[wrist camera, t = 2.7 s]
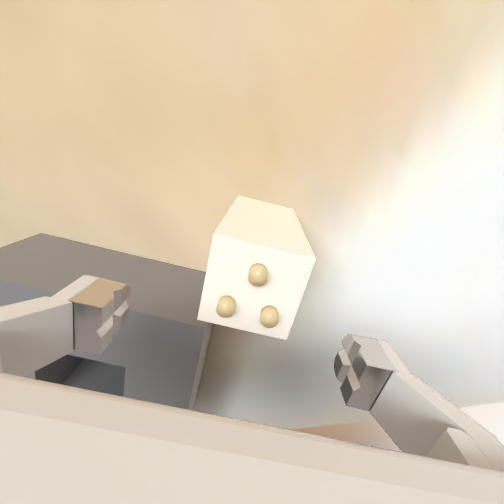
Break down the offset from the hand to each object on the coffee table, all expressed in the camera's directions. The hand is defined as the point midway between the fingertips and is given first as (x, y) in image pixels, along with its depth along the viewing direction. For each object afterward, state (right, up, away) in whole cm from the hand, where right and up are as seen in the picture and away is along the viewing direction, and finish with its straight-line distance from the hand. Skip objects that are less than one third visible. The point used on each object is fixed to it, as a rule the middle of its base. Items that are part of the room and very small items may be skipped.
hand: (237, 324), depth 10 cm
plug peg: (+1, +5, +11) cm, 12 cm away
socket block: (-12, -5, +16) cm, 20 cm away
